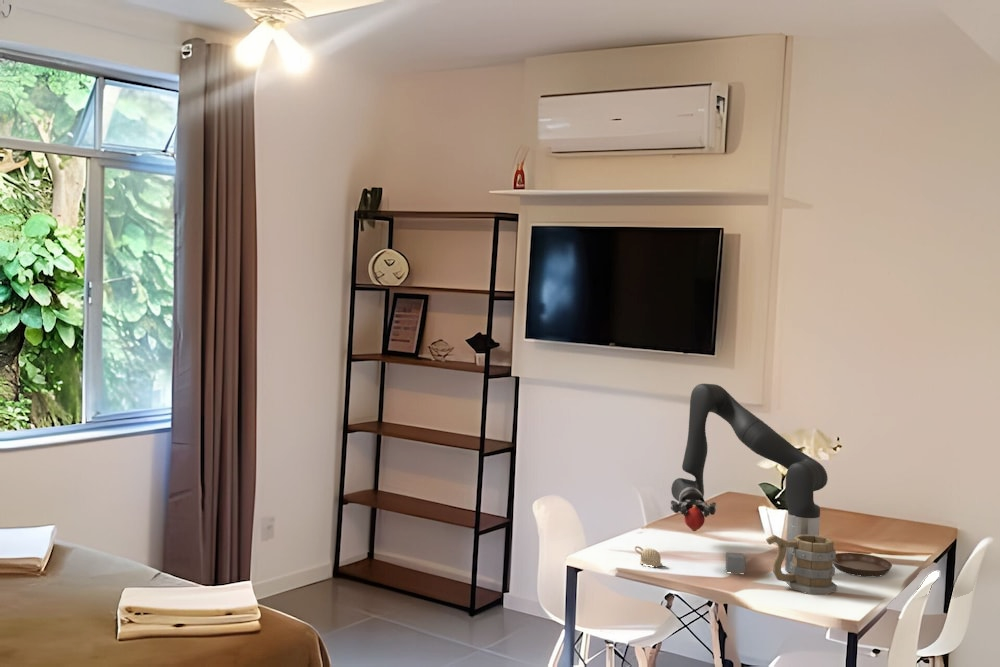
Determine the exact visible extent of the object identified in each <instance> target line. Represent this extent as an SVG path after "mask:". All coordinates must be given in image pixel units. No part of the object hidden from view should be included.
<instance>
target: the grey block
mask: <svg viewBox="0 0 1000 667" xmlns="http://www.w3.org/2000/svg"><path fill="white" fill-rule="evenodd" d="M745 567H746V557H745V555H744V553H739V552H738V553H736V552H726V554H725V568H726V569H725V571H726V570H727V571H726V573H727V572H731V573H745V571H746V568H745Z"/></svg>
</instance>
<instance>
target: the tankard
mask: <svg viewBox="0 0 1000 667" xmlns="http://www.w3.org/2000/svg"><path fill="white" fill-rule="evenodd" d="M786 540H787V539H784V538H781V537H779V536H777V535H776V534H772V535H771V536H769V537H767V538H766V539H765V541H766V542H767V544H768V545H770V546H771V545H772V544H777V550H776V551H777V552H776V555H775V558H774V560H773V561H772V572H773V574H774V577H775V578H776V580H777V581H781V582H785V584H786V583H787V584H788V585H789V586H790V587H791V588H792V589H791V588H790V587H789V586H788V585H787V584H786V585H787V586H788V587H789V588H790V589H791V590H793V589H795V590H799V591H802V592H801V593H803V592H806V593H805V594H807V593H810V594H809V595H825V594H828V595H829V593H830V594H832V593H834V592H836V591H837V588H838V587H837V584H835V582H833V577H834V576H835V574H836V573H835V572H836V571H835V570H836V567H835V566H834V564H833V559H835V556H836V554H837V553H836V552H837V550H836V549H834V542H835V541H833V540H832V539H830V537H825V536H822V535H819V536H817V535H815V536H814V535H798V536H795V537H794V539H793V541H786ZM786 547H791V551H790V553H791V554H792V555H793V560H792V562H790V570H791V571H792V573H786V574H785V573H783V572H782V564H783V561H784V559H785V558H786ZM795 590H794V591H795ZM799 591H798V592H799Z"/></svg>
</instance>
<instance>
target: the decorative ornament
mask: <svg viewBox="0 0 1000 667" xmlns="http://www.w3.org/2000/svg"><path fill="white" fill-rule="evenodd" d="M633 549H634V550H635V552H636V553H638V554H639V555H640V561H639V564H641V563H642V564H646V565H652V566H657V567H662V566H663V564H662V563H661V561H662V560H661V559H662V558H661V555H660V552H658V550H656V549H654V548H650V547H649V548H648V547H647V548H642V547H641V546H638V545H636V546H634V548H633ZM638 549H639V550H640V551H639V550H638ZM642 564H641V565H642Z"/></svg>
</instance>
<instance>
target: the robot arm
mask: <svg viewBox="0 0 1000 667" xmlns="http://www.w3.org/2000/svg"><path fill="white" fill-rule="evenodd" d="M709 413H713V414H715V415H717V416H719V417H720V418H721V419H723V420H724V421H726V422H727V423H728V424H729V425H730V427H731V428H732V431H733V432H734V434H735V436H736V437H737V438H738V440H739V441H740V442H741V443H742V444H743V445H745V447H747V448H749V450H750V451H752V452H753V453H755V454H757V455H759V456H761V457H763V458H764V459H767V460H769V461H772V462H774V463H776V464H779V465H780V466H782V467H784V468H785V469H786V474H785V504H786V506H787V520H786V523H787V526H786V539H785V540H786V541H793V539H794V537H795V536H798V535H814V536H815V535H817V536H820V523H821V522H820V520H821V518H820V517H821V508H820V506H819V505H818V504H816V503H815V501H814V492H817V491H820V490H821V489H823V488H824V487H826V485H827V484H828V481H829V480H828V477H829V476H828V474H827V471H826V469H825V467H824V465H822V464H821V463H820V462H819V461H817V460H815V459H814V458H812V457H811V456H809V455H807V454H806V453H804V452H803V451H801V450H799V448H797V447H795V446H794V445H792V443H790V442H789V441H788V440H787V439H785V438H784V437H783V436H782V435H780V434H779V433H777V432H776V430H774V429H773V428H772V427H771V426H769V425H768V424H767V423H765V422H764V421H763V420H762V419H760V418H759V417H758V416H756V415H755V414H753V413H752V412H751V411H749V410H748V409H746V408H745V407H744V406H743V405H741V403H739V402H738V401H737V400H736V399H735V398H734V397H733V396H732V395H731V394H730V393H729V392H728V391H727V390H726V389H725V388H724V387H722V386H721V385H719V384H717V383H716V384H714V383H698V384H697V385H695V387H693V389H692V392H691V395H690V401H689V418H688V434H687V440H686V446H685V451H684V456H683V461H682V465H681V467H682V468H681V469H682V470H683V472H686V473H687V474H689V475H691V476H693V477H694V479H695V480H691V479H689V478H682V477H679V478H678V477H677V478H676V479H675V480H674V481H673V482H672V485H671V487H670V488H671V495H672V498H673V499H675V500H676V501H675V500H670V510H671V511H672V512H673V513H675V514H679V513H680V515H683V516H684V517H685V516H686V513H687V511H688V510H689V509H691V508H692V506H693V505H696V506H697V508H699V509H700V510H701V512H702V513H703V515H704V518H707V517H708V516H713V515H715V513H716V512H717V511H716V509H717V502H714V501H712V502H710V504H708V503H707V502H705V497H704V496H705V489H704V487H705V486H704V470H705V465H706V461H707V457H708V442H707V441H708V440H707V435H706V424H707V419H708V416H709ZM790 551H791V547H786V554H785V562H784V565H785V566H784V569H785V571H786V572H787V571H788V573H789V574H791V573H792V571H791V570H790V562H792V560H793V555H792V554H791V553H790Z"/></svg>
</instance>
